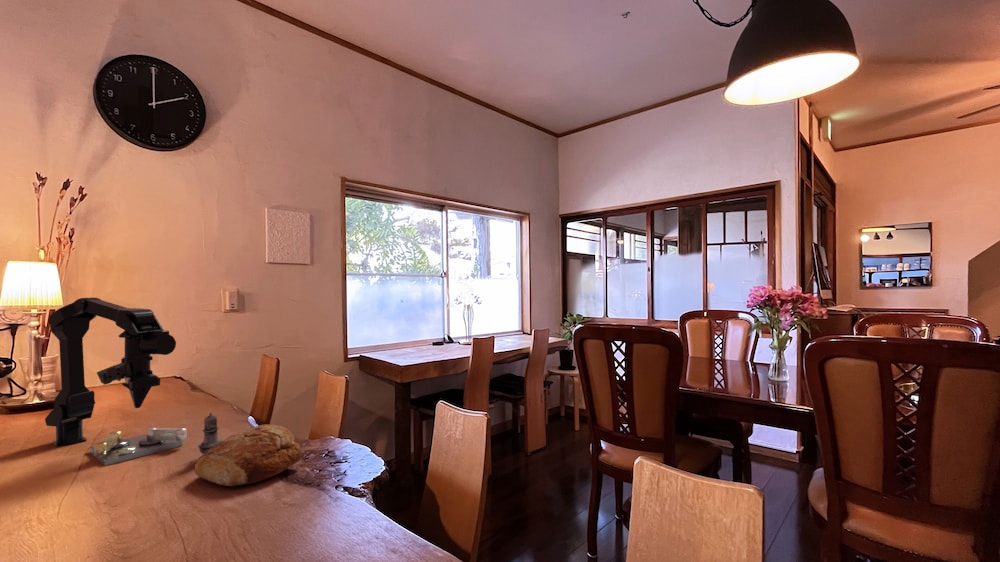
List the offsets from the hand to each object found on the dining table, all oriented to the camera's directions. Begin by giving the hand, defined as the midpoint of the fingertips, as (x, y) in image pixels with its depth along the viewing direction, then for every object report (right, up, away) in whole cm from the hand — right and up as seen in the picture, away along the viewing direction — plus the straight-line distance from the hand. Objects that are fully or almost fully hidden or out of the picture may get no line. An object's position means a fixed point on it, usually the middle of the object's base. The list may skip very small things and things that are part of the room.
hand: (137, 407), depth 125 cm
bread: (+40, -11, -16) cm, 45 cm away
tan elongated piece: (-3, -10, -6) cm, 12 cm away
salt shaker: (+26, -11, -7) cm, 29 cm away
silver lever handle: (+7, -10, 0) cm, 12 cm away
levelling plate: (+1, -12, -1) cm, 12 cm away
